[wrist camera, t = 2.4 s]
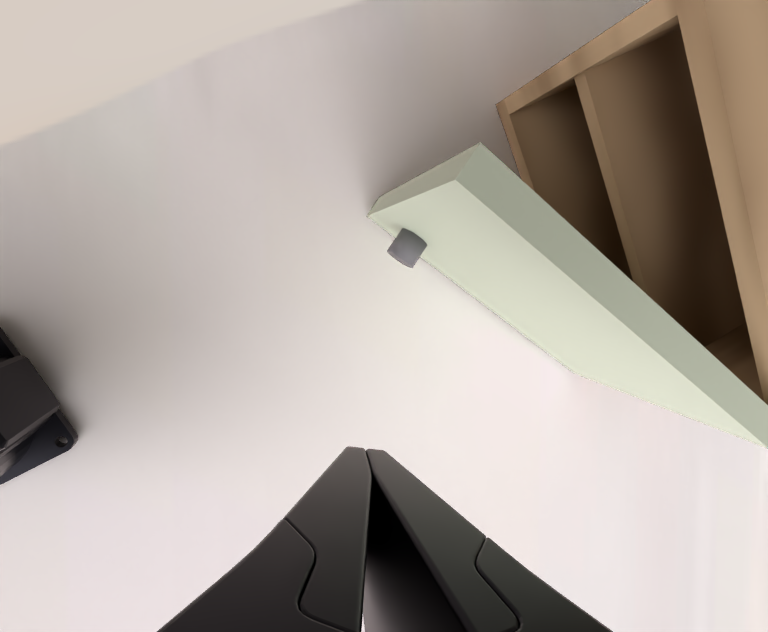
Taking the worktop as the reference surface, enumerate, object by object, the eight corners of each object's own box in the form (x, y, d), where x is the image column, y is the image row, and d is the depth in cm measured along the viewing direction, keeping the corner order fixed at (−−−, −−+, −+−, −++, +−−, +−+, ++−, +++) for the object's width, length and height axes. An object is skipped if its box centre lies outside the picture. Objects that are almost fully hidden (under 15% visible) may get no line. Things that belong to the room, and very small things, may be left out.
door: (567, 392, 26) (759, 481, 16) (353, 235, 21) (429, 217, 11) (588, 360, 26) (793, 428, 16) (379, 196, 21) (480, 142, 11)
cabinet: (582, 359, 26) (793, 429, 16) (495, 104, 22) (697, -31, 12) (678, 302, 27) (930, 332, 17) (611, 53, 24) (885, -108, 13)
